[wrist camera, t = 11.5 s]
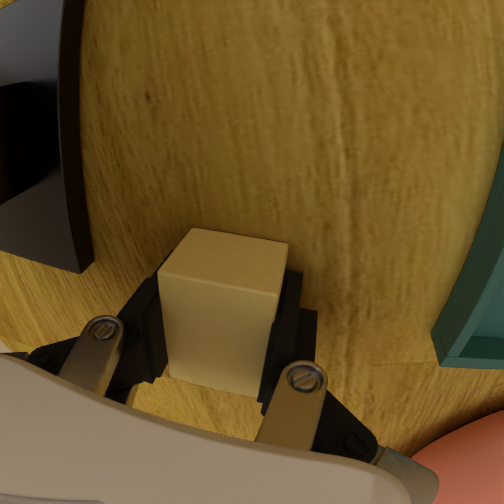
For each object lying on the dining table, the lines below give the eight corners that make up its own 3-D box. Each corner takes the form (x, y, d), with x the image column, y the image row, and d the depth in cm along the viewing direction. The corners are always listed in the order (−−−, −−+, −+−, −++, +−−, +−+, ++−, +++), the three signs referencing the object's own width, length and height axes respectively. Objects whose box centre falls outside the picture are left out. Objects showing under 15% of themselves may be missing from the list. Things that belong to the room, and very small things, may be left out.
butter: (192, 226, 11) (155, 271, 9) (289, 242, 11) (279, 295, 8) (193, 327, 14) (169, 378, 11) (271, 343, 14) (259, 399, 11)
